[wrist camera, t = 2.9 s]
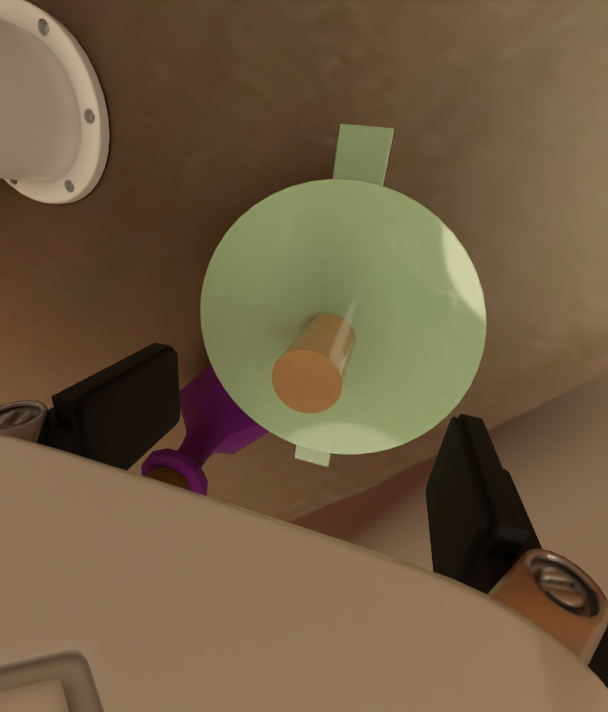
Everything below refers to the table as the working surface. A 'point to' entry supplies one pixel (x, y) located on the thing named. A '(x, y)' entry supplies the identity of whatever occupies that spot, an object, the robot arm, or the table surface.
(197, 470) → the purple potion bottle
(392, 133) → the pot
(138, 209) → the table surface
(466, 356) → the lid
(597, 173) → the table surface
